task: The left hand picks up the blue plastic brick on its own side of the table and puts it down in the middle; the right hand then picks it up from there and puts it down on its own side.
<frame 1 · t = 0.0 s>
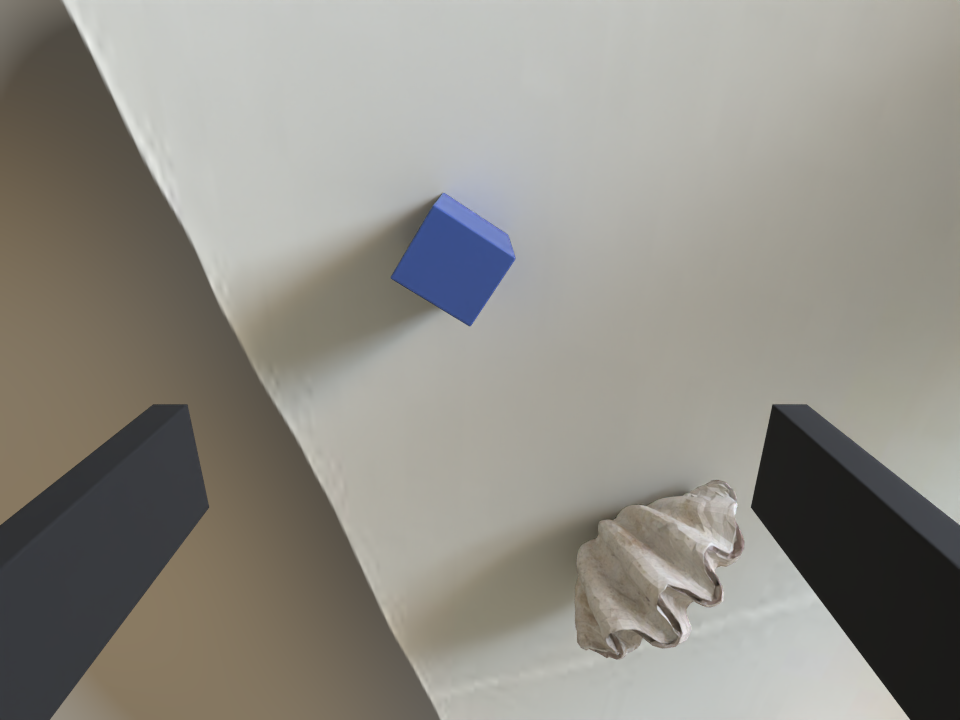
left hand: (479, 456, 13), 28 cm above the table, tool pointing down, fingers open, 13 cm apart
brick: (458, 243, 39), on the table
seashell: (638, 528, 47), on the table
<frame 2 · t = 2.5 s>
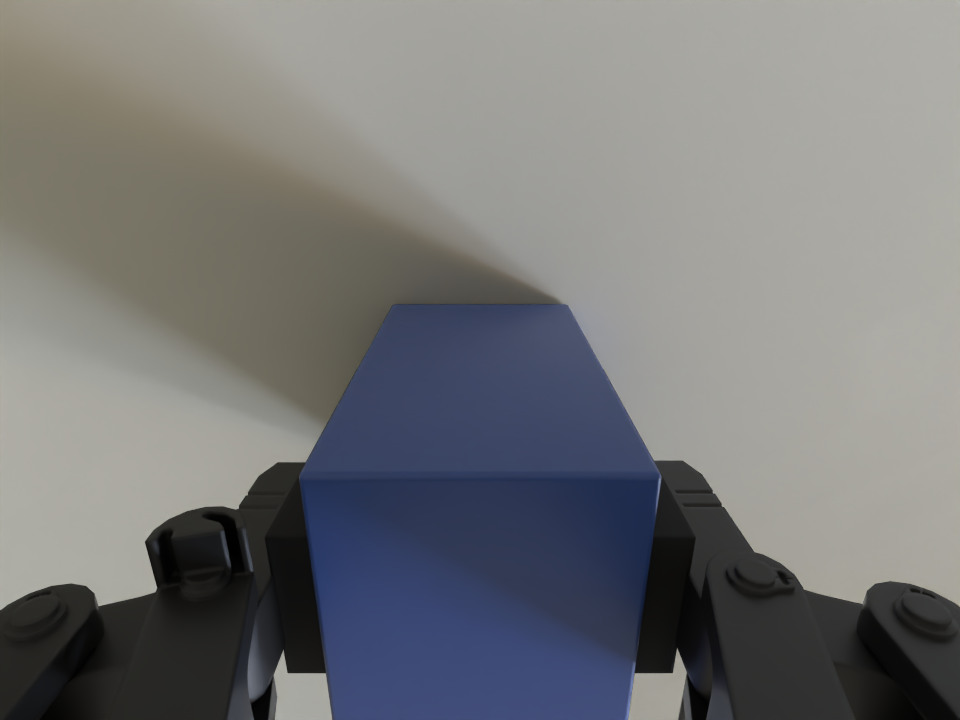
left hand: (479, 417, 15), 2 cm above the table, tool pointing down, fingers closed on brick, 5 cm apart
brick: (480, 393, 16), on the table, touching left hand
when the left hand's fingers open (3 cm above the table, at t = 5.7 s): brick drops 2 cm, on the table.
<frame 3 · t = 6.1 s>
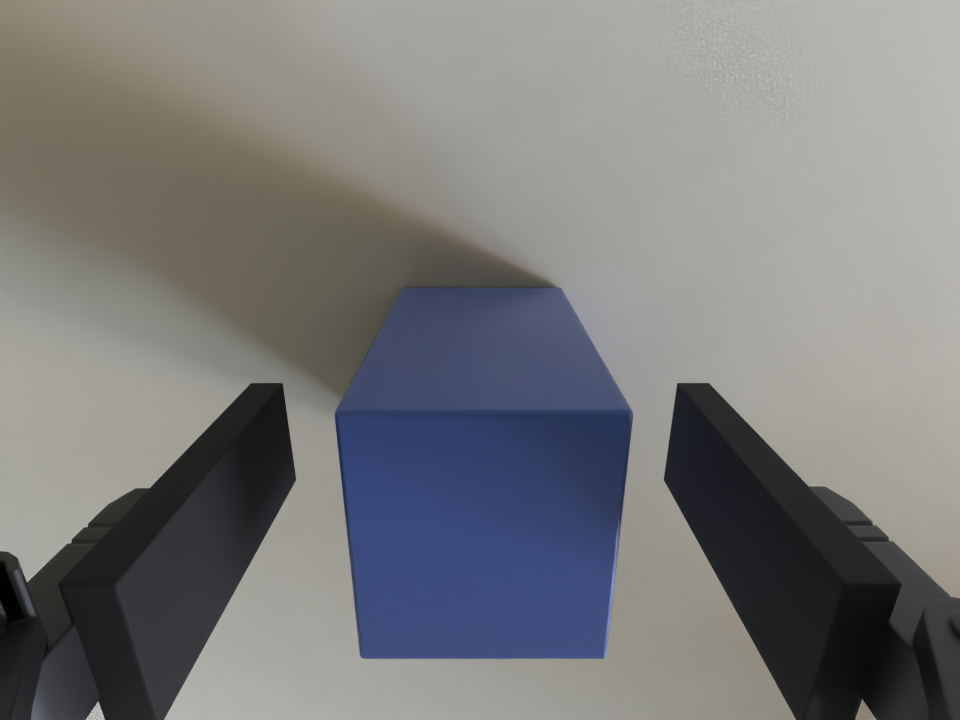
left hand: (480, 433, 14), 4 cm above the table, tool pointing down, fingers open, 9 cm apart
brick: (481, 369, 18), on the table
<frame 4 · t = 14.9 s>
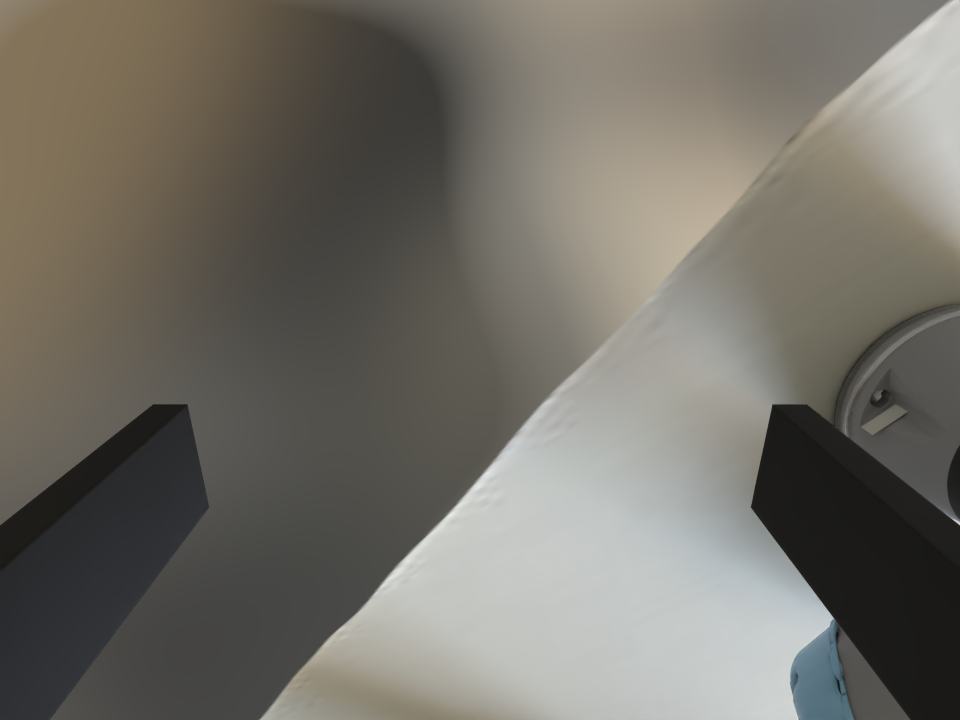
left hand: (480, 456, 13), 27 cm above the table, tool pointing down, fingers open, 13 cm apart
when the right hand's fingers open (3 cm above the table, at t = 21.8 s): brick drops 2 cm, on the table.
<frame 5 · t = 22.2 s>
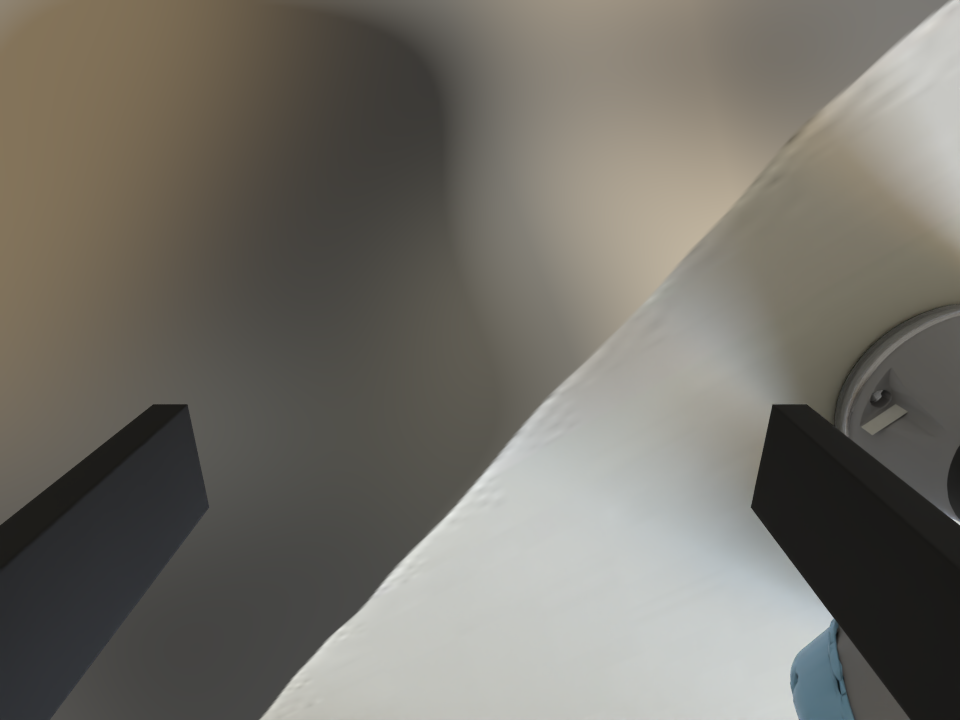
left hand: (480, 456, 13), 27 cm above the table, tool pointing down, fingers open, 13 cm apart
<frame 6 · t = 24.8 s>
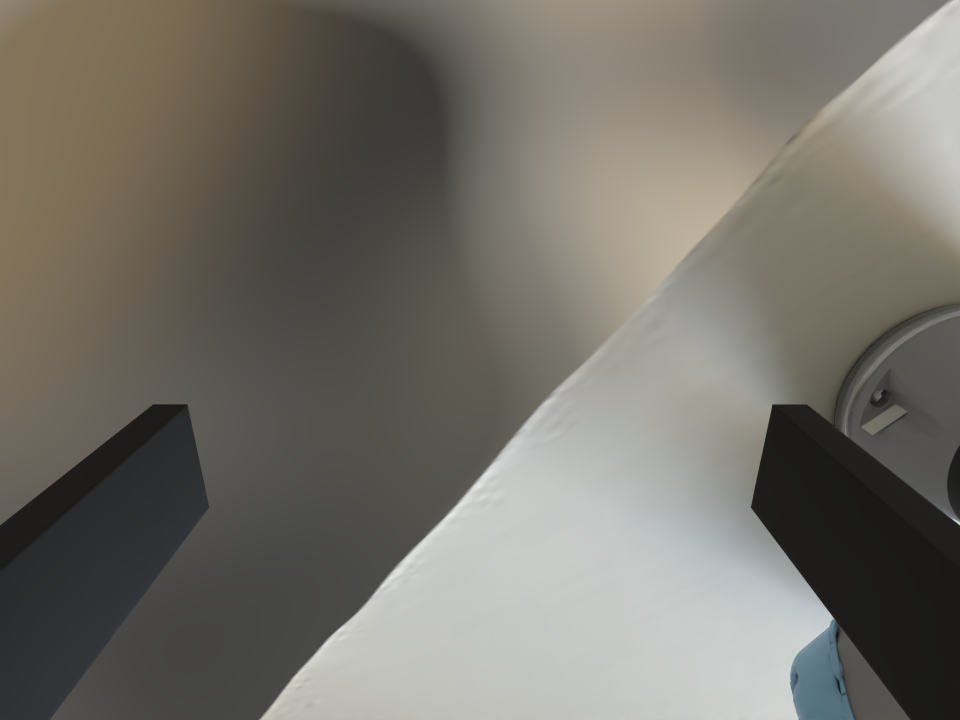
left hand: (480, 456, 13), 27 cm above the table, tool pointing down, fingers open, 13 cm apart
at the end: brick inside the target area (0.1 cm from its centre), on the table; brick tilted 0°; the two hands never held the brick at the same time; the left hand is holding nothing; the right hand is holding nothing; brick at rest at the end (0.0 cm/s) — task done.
